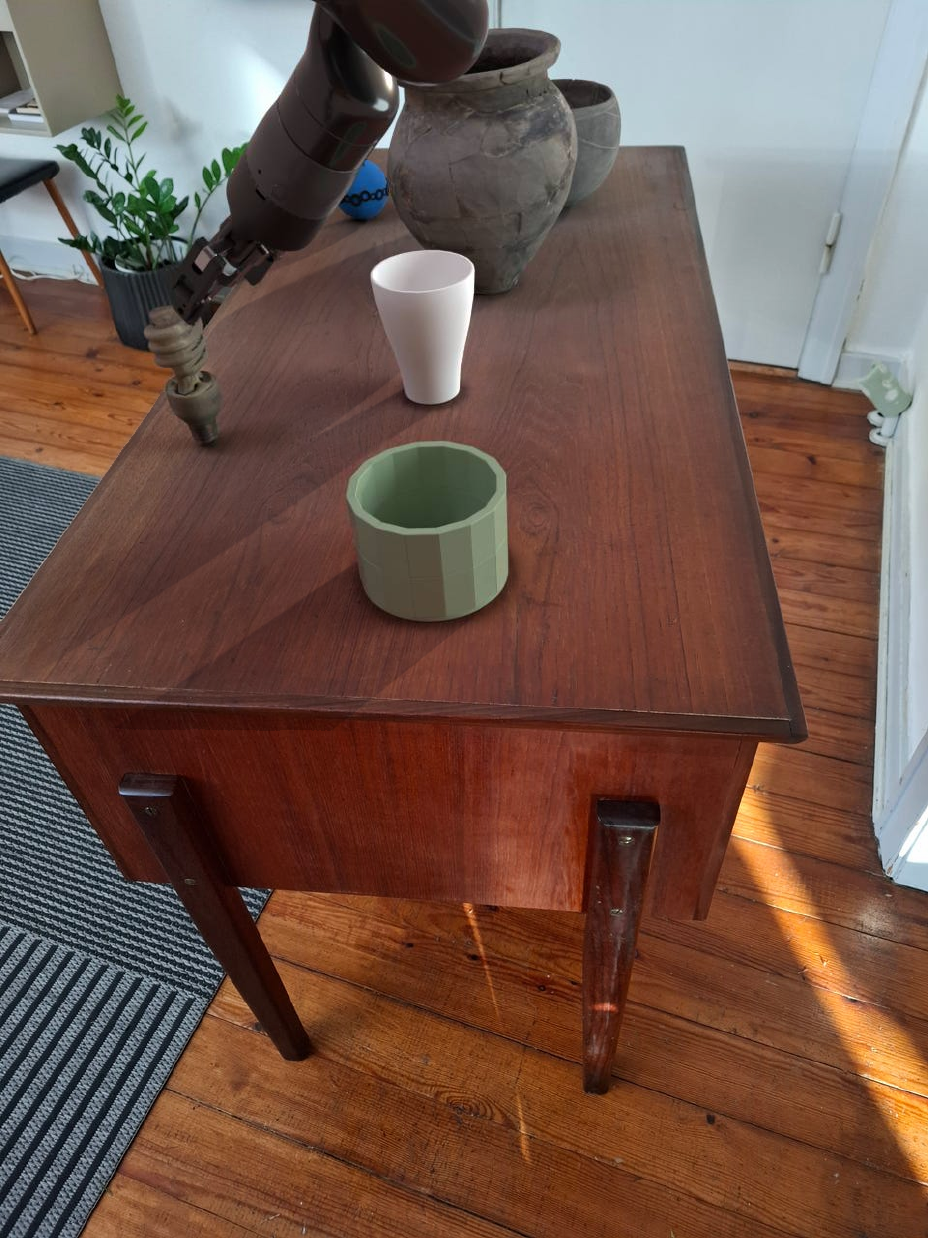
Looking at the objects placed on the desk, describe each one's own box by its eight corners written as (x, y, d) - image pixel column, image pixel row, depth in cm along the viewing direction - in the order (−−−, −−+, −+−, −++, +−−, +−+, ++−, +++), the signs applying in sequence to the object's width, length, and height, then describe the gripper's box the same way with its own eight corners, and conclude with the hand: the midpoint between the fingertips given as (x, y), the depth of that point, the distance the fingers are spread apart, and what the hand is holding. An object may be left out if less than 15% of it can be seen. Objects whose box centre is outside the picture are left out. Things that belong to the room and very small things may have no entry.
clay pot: (574, 292, 123) (568, 44, 114) (589, 277, 99) (582, -39, 90) (406, 303, 124) (388, 60, 116) (381, 291, 100) (356, -18, 92)
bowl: (604, 174, 147) (610, 70, 137) (629, 221, 132) (637, 107, 121) (478, 184, 147) (473, 80, 136) (488, 232, 132) (484, 119, 121)
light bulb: (233, 456, 91) (194, 316, 81) (179, 463, 91) (133, 323, 81) (235, 427, 96) (199, 291, 85) (184, 433, 95) (141, 297, 85)
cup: (463, 421, 94) (455, 296, 85) (371, 409, 97) (353, 287, 87) (491, 372, 101) (487, 253, 92) (404, 363, 104) (392, 246, 94)
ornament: (394, 207, 141) (387, 138, 134) (387, 227, 135) (379, 156, 128) (341, 208, 142) (331, 140, 135) (331, 229, 136) (321, 158, 129)
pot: (387, 639, 71) (373, 552, 65) (345, 548, 80) (329, 463, 73) (532, 595, 74) (531, 508, 68) (476, 512, 82) (471, 427, 76)
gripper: (317, 103, 70) (237, 232, 82) (195, 158, 61) (127, 293, 74) (381, 182, 72) (294, 297, 84) (271, 247, 63) (192, 365, 75)
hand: (216, 295), depth 79 cm, fingers open, 8 cm apart
